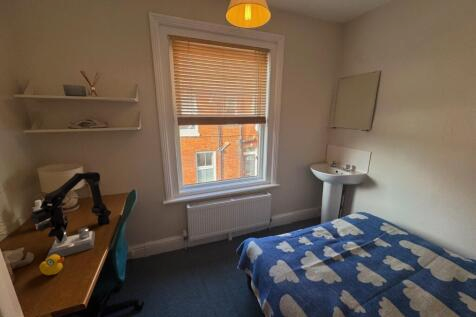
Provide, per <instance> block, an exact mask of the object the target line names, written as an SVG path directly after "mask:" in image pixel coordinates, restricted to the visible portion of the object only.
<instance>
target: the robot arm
mask: <svg viewBox="0 0 476 317" xmlns="http://www.w3.org/2000/svg"><path fill="white" fill-rule="evenodd" d="M83 180H85V182H86V183H87V184H88V186H89V188H90V193H91V197H92V201H93V206H91V207H90V209H91V213H92V214H93V215H95V216H96V217H97V225H98V226H105V225H107V224H108V225H109V224H110V223H111V222H110V215H111V214H112V211H111V210H109V209H108V208H107V205H106V204H105V203H104V202H103V199H102V198H103V197H102V194H101V189H100V181H101V174H100V173H99V172H98V171H97V172H96V171H87V172H76V173H75V174H74V175H73V176H72V177H71V178H69V179H68V180H67V181H65V183H63V185H61V186H60V187H59V188H57V189H55V190H52V191H50V192H49V193H47V194H46V195H44V197H43V198H44V199H43V200H42V202H41V206H40V208H42V209H39V210H37V211H33V210H32V212H31V215H30V221H31V222H32V223H33V224H38V223H40V222H43V221H45V220H47V219H49V220H47V221H45V222H43V223H41V224H39V225H38V227H37V229H38V230H37V229H36V230H37V231H38V232H44V231H45V230H47V229H49V228H50V229H49V231H48V233H47V237H48V238H53V237H55V236H56V238H57V239H58V240H59V242H61V241H62V240H63V236H64V233H65V231H66V232H67V227H68V224H69V221H70V219H69V216H67V215H65V213H64V210H63V206H65V205H67V203H66V202H63V201H64V200H65V199H66V196H67V195H68V193H69V192H70V191H71V190H73V189H74V188H75V187H76V186H77V185H78V184H80V182H82V181H83ZM56 238H55V239H56Z"/></svg>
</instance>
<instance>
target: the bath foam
mask: <svg viewBox="0 0 476 317" xmlns="http://www.w3.org/2000/svg"><path fill="white" fill-rule="evenodd" d="M41 205H42V201H41V199H37V200H34V206H35V207H34V208H33V210H32V212H33V211H37V210H39V209H42V208H40V206H41ZM49 219H50V218H49ZM49 219H47V220H49ZM47 220H45V221H47ZM45 221H43V222H45ZM43 222H40V223H38V224H35V225H34V226H35V228H36V230H37V231H38V229H37V227H38V225H39V224H41V223H43Z"/></svg>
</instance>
